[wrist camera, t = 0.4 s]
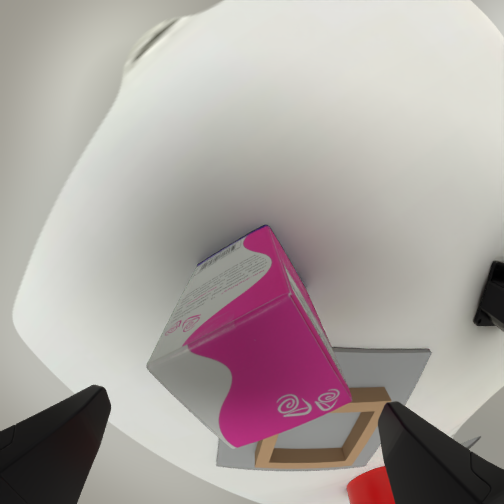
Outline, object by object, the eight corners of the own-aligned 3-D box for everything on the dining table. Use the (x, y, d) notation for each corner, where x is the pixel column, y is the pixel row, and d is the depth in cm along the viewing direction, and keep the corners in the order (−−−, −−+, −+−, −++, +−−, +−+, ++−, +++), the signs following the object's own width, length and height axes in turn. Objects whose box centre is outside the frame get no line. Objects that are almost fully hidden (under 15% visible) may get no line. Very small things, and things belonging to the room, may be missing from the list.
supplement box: (240, 328, 21) (228, 454, 10) (195, 263, 20) (134, 361, 9) (309, 292, 20) (357, 405, 9) (268, 221, 19) (286, 284, 8)
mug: (420, 470, 28) (435, 505, 21) (347, 496, 29) (356, 535, 22) (426, 447, 26) (446, 486, 19) (345, 478, 27) (355, 523, 20)
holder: (428, 349, 22) (441, 364, 19) (363, 462, 26) (368, 478, 24) (231, 337, 21) (228, 357, 19) (216, 462, 26) (214, 479, 23)
